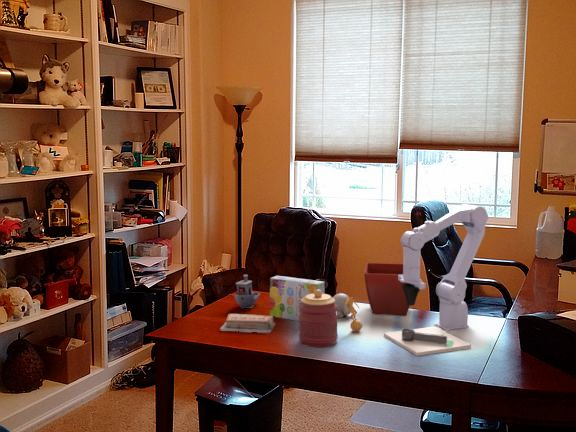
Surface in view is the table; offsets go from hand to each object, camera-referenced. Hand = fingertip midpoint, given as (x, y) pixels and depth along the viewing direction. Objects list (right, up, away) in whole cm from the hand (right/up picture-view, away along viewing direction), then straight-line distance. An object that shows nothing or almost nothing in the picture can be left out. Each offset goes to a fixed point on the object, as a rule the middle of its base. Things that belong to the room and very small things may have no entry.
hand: (410, 305), depth 223 cm
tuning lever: (+2, -10, -13) cm, 16 cm away
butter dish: (-57, -10, +7) cm, 58 cm away
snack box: (-39, -8, +17) cm, 44 cm away
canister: (-33, -11, -9) cm, 35 cm away
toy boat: (-59, -6, +33) cm, 68 cm away
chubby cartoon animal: (-24, -7, +21) cm, 33 cm away
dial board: (+3, -11, -10) cm, 15 cm away
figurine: (-20, -10, +2) cm, 22 cm away
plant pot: (-3, -6, +27) cm, 27 cm away
